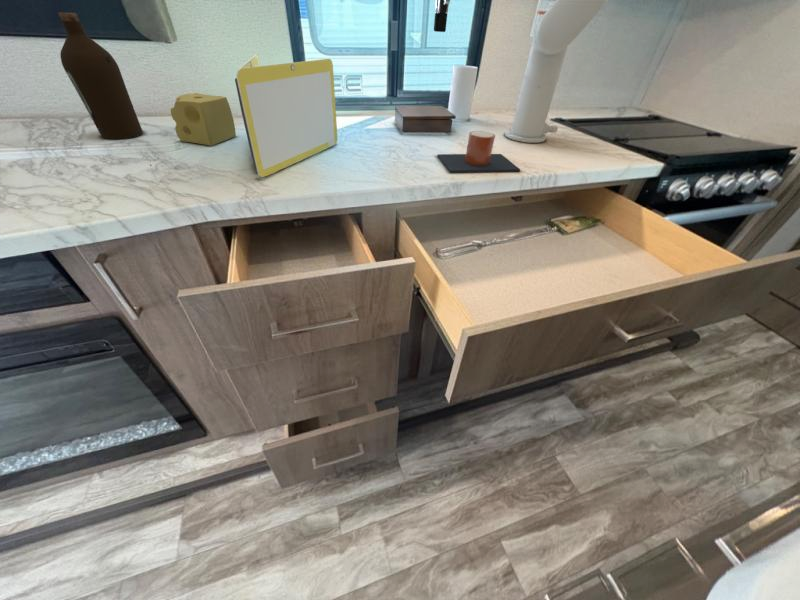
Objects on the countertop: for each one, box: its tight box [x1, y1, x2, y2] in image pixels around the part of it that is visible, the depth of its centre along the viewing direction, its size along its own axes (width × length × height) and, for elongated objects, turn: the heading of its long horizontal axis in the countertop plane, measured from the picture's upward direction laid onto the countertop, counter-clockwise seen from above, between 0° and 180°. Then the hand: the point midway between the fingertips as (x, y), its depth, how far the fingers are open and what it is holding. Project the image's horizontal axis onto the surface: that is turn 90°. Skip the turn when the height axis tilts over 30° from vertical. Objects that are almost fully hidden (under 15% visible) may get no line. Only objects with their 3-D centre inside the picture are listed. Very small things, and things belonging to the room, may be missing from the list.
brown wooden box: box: [394, 108, 453, 134], centre depth 108 cm, size 16×15×4 cm
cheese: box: [170, 92, 237, 147], centre depth 87 cm, size 10×11×10 cm
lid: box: [394, 105, 456, 120], centre depth 106 cm, size 16×15×1 cm
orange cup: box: [465, 130, 496, 166], centre depth 83 cm, size 6×6×7 cm
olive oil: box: [57, 12, 144, 140], centre depth 82 cm, size 11×11×25 cm
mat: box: [437, 153, 521, 174], centre depth 85 cm, size 18×12×1 cm, turn 100°
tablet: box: [234, 53, 338, 178], centre depth 78 cm, size 35×22×20 cm, turn 14°
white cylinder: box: [447, 64, 478, 121], centre depth 117 cm, size 8×8×16 cm
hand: (439, 31), depth 97 cm, fingers closed
